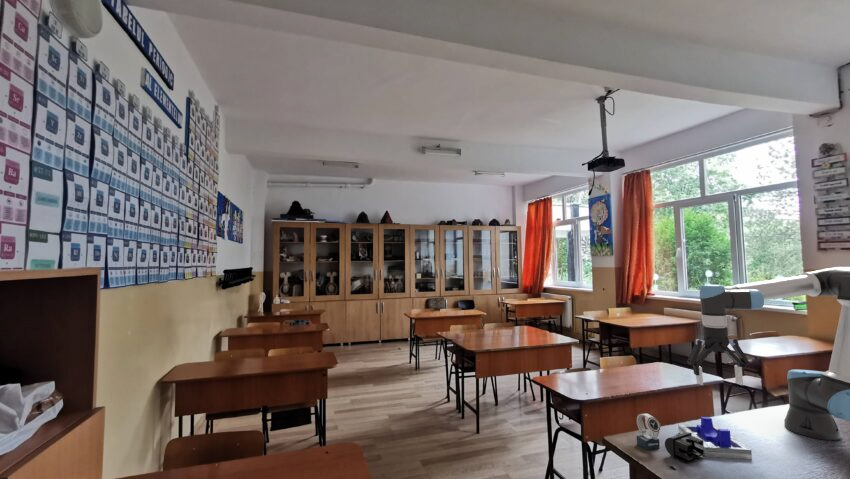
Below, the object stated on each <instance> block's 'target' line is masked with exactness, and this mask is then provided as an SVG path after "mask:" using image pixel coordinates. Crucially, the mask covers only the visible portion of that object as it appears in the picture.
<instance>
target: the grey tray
mask: <svg viewBox="0 0 850 479" xmlns="http://www.w3.org/2000/svg"><path fill="white" fill-rule="evenodd" d="M713 427H714V429H715V431H716V433H717V434H718V429H722V428H720V427H719V426H713ZM677 429H678V435H680V434H683V433H687V432H689V433H691V434H692V436H693V437H695V438H698V439H700V440H703V446H702V445H700V444H697V443H694V444H695V446H697V447H699V448H701V449H704V455H703V456H704V457H709V458H711V457H712V458H727V459H743V460H752V459H753V457H752V455H753V454H752V450H751V449H750V447H748V446H746V445H745V444H744V443H742V442H740V441H739V440H738V439H736V438H735V437H733V436H732V435H731V434H730V437H731V447H719V446H717V445H716V444H715V443H714V442H712V441H710V440H705V439H704V438H703V437H702V436H700V435H699V434H698V433H697V425H685V424H678V428H677Z"/></svg>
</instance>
